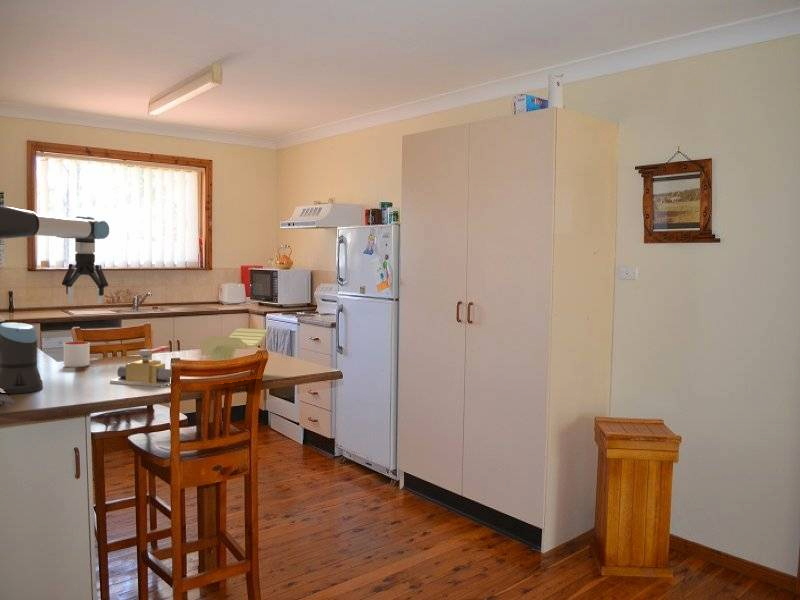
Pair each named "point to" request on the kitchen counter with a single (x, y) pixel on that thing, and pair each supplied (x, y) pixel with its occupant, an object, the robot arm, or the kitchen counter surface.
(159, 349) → the lever
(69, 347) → the cup
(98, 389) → the kitchen counter surface
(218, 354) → the slatted curved stool
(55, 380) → the kitchen counter surface
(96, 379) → the kitchen counter surface
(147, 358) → the valve
